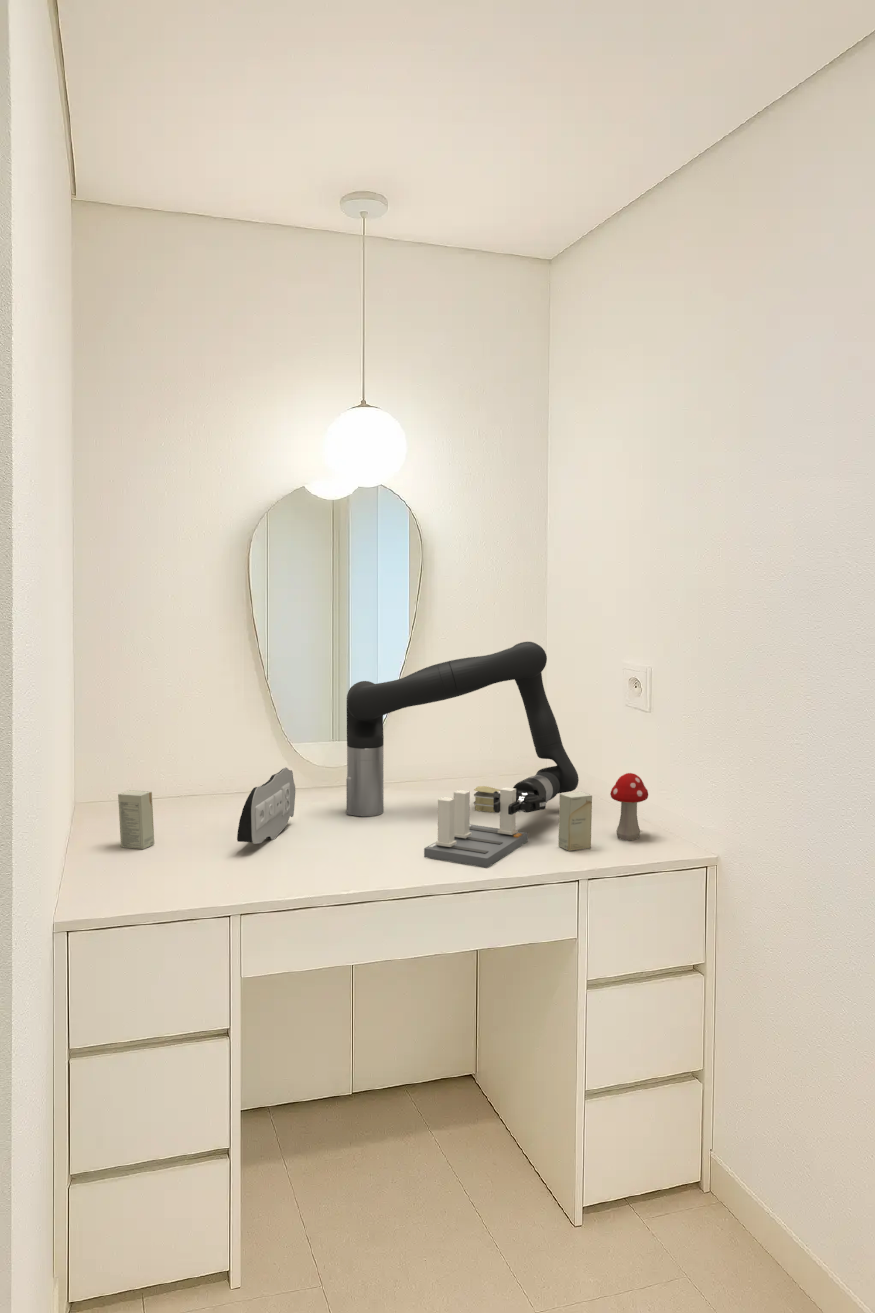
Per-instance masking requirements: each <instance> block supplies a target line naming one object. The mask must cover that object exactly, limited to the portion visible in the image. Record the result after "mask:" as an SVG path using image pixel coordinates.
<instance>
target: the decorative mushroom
mask: <svg viewBox="0 0 875 1313" xmlns="http://www.w3.org/2000/svg"><path fill="white" fill-rule="evenodd" d="M610 798H611V799H612V800H613V801H616V802H619V803H620V817H619V821H618V826H617V827H616V835H617V838H618V839H620V840H623V841H634V840H637V839H639V837H640V834H641V829H640V826H639V825H640V824H639V821H638V803H641V802H642V803H643V801H644V802H645V801H646V800H647V799H648V798H649V790H648V789H647V788H646V785H645V784H644V782H643V780H642V778H641V777H640V776H639V775H637V774H636V773H632V772H626V773H623V774H622V775H620V776H619V778H618V779H617V780H616V782H615V784H614V785H613V786H612V787H611V791H610Z"/></svg>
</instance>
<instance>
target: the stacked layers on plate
mask: <svg viewBox="0 0 875 1313" xmlns="http://www.w3.org/2000/svg"><path fill="white" fill-rule="evenodd" d="M473 791H474V792H475V793H474V794H473V797H474V798H475V801H474V802H473V805H474V809H475V811H476V812H477V811H478V812H487V813H495V812H494V810H493V808H494V807H493V799H494V792H495V791H497V792H500V789H499V788H495V787H491V786H487V785H486V786H485V785H482V786H481V785H480V786H476V787H475V788H474V789H473Z"/></svg>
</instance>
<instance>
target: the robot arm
mask: <svg viewBox="0 0 875 1313" xmlns="http://www.w3.org/2000/svg"><path fill="white" fill-rule="evenodd" d="M547 661H548V656H547V653H546V651H545V649H544V648H543V647H542V646H541V645H539V644H537V643H536V642H533V641H522V642H519V643H516V644H514V645H513V646H512V647H508V648H506V649H503V650H500V651H497V652H494V653H491V654H487V655H479V656H470V657H463V658H457V659H451V660H447V661H443V662H440V663H437V664H432V665H429V666H426V667H424V668H422V669H419V670H417V671H415V672H413V673H410V674H408V675H405V676H404V677H401V678H397V679H395V680H390V681H384V682H379V683H374V682H372V681H370V680H362V681H358V682H356V683H354V684H353V685H352V686H351V687H350V688H349V690H348V691H347V694H346V780H345V781H346V816H349V815H350V816H355V817H374V816H378V815H381V814H383V813H384V808H385V807H384V804H385V803H384V802H385V801H384V798H385V797H384V794H385V792H384V788H385V787H384V716H385V715H388V714H391V713H393V712H396V711H399V710H402V709H406V708H410V707H416V706H421V705H427V704H432V703H435V702H440V701H445V700H449V699H452V698H457V697H460V696H464V695H467V694H470V693H473V692H476V691H479V690H481V689H484V688H486V687H488V686H491V685H493V684H498V683H502V682H507V681H513V680H514V682H515V683H516V686H517V689H518V691H519V694H520V696H521V699H522V702H523V706H524V711H525V715H526V717H527V723H528V728H529V731H530V734H531V738H532V743H533V746H534V750H535V753H536V756H537V757H538V758H539V759H542V760H551V761H553V762H554V763H555V765H554V766H548V767H547V766H546V767H543V768H541V769H539V770H538V771H537V772H536V774H535V775H531V776H529V777H527V778H524V779H523V780H521V781H518V782H517V783H515V785H514V786H513V787H512V788H515V789H516V802H514V803H512V804H510V805H509V806H508V814H509V815H512V814H514V813H516V814H517V813H527V814H528V813H532V812H537V811H542V810H546V807H547V803H548V802H549V801H551V800H553V799H554V798H555V797H557V795H560V794H563V793H571V792H574V791H575V790H576V789H577V788H578V785H579V774H578V771H577V768H576V767H575V766H574V764H573V763H572V760H571V759H570V757H569V756H568V753H567V752H566V749H565V748H564V745H563V740H562V737H561V735H560V730H559V726H558V723H557V720H556V717H555V714H554V713H553V709H552V708H551V705H550V702H549V700H548V697H547V694H546V691H545V687H544V682H543V675H542V673H543V670H544V669H545V668H546V666H547ZM493 807H494V808H493V810H494V812H493V813H496V814H498V813H499V814H500V791H498V792H497V791H495V792H494V799H493Z"/></svg>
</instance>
